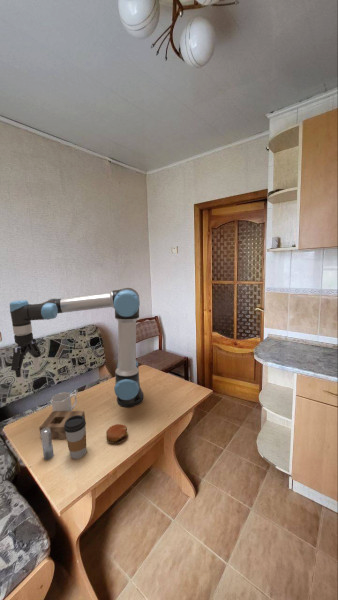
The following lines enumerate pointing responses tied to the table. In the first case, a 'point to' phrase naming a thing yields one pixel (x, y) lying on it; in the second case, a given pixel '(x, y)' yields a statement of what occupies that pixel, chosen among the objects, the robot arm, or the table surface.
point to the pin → (47, 443)
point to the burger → (116, 433)
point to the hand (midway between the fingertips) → (29, 375)
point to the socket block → (59, 422)
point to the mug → (63, 402)
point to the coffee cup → (76, 436)
